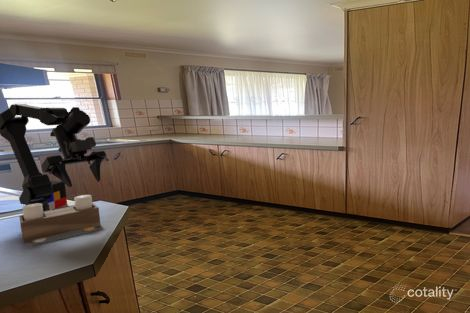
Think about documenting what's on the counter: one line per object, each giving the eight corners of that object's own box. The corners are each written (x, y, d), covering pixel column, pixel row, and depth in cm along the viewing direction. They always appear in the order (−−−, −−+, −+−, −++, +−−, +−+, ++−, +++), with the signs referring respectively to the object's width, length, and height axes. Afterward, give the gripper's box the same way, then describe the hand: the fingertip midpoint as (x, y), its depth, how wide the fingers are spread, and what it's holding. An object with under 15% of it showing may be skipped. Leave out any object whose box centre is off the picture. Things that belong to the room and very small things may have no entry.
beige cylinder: (75, 215, 104) (73, 196, 103) (91, 211, 107) (89, 194, 106) (78, 218, 100) (75, 199, 99) (94, 215, 103) (92, 196, 102)
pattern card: (31, 241, 91) (31, 239, 91) (94, 227, 101) (94, 225, 101) (33, 245, 87) (32, 243, 87) (97, 230, 97) (97, 228, 97)
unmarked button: (24, 225, 96) (22, 205, 95) (43, 221, 99) (41, 202, 98) (25, 229, 92) (22, 208, 91) (45, 225, 95) (42, 205, 94)
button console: (21, 234, 97) (19, 216, 96) (94, 219, 109) (92, 202, 109) (23, 243, 90) (20, 223, 89) (100, 225, 102) (98, 207, 101)
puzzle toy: (48, 211, 123) (45, 186, 121) (27, 211, 125) (23, 186, 123) (67, 204, 132) (64, 181, 131) (47, 204, 134) (44, 181, 133)
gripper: (46, 130, 90) (65, 178, 87) (105, 127, 105) (123, 167, 102) (33, 149, 96) (51, 194, 93) (91, 143, 111) (107, 182, 108)
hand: (85, 184), depth 99 cm, fingers open, 9 cm apart
